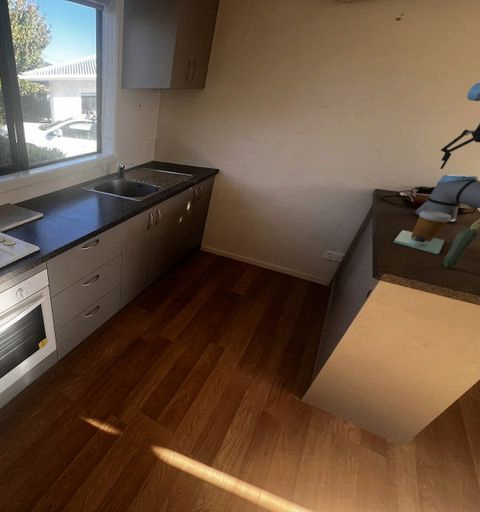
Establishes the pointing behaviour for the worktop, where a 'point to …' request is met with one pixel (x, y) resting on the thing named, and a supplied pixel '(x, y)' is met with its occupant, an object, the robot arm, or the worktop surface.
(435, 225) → the disposable coffee cup
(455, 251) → the vegetable
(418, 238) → the button
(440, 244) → the scale
